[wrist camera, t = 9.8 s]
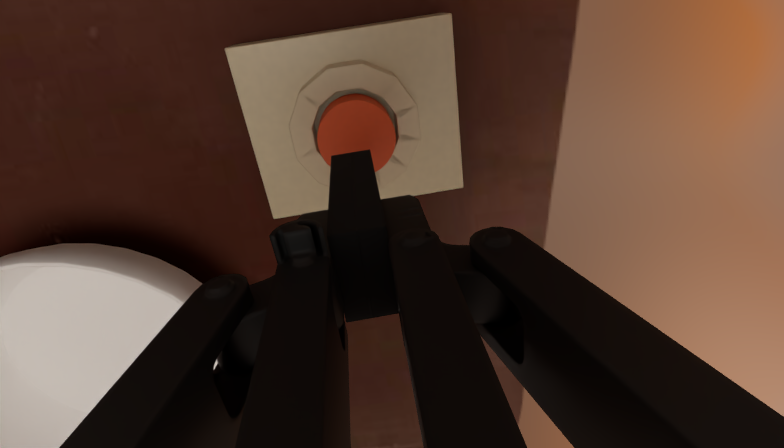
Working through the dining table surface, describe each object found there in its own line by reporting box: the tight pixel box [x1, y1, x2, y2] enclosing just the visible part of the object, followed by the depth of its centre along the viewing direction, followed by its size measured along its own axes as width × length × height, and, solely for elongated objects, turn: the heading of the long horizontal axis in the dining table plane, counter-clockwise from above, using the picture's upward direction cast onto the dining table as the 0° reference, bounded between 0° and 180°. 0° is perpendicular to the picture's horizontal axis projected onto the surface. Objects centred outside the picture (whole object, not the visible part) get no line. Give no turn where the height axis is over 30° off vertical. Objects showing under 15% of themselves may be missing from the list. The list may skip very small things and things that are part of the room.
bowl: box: [0, 243, 218, 448], centre depth 30 cm, size 20×20×6 cm
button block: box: [225, 12, 463, 219], centre depth 26 cm, size 12×10×4 cm
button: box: [317, 94, 396, 172], centre depth 23 cm, size 4×4×2 cm
